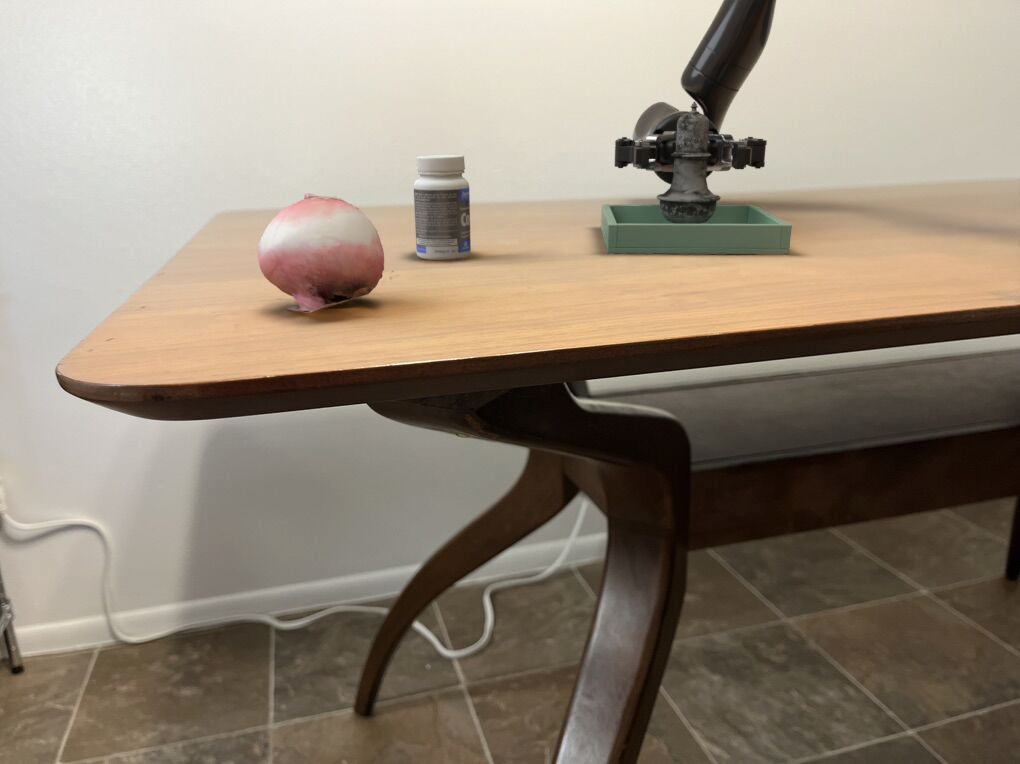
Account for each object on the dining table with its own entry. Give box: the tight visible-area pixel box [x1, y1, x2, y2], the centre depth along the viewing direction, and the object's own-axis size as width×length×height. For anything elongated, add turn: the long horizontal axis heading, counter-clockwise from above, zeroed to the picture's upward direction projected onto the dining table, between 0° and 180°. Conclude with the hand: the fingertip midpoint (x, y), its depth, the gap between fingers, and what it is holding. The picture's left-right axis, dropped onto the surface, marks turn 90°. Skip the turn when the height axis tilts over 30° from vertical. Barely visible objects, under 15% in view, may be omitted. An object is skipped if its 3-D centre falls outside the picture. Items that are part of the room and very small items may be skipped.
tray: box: [600, 204, 793, 255], centre depth 77 cm, size 16×15×2 cm
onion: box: [257, 192, 385, 314], centre depth 52 cm, size 8×8×7 cm
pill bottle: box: [413, 154, 472, 261], centre depth 69 cm, size 5×5×8 cm
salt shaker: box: [656, 101, 721, 224], centre depth 76 cm, size 6×6×12 cm
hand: (693, 157), depth 73 cm, fingers open, 8 cm apart
